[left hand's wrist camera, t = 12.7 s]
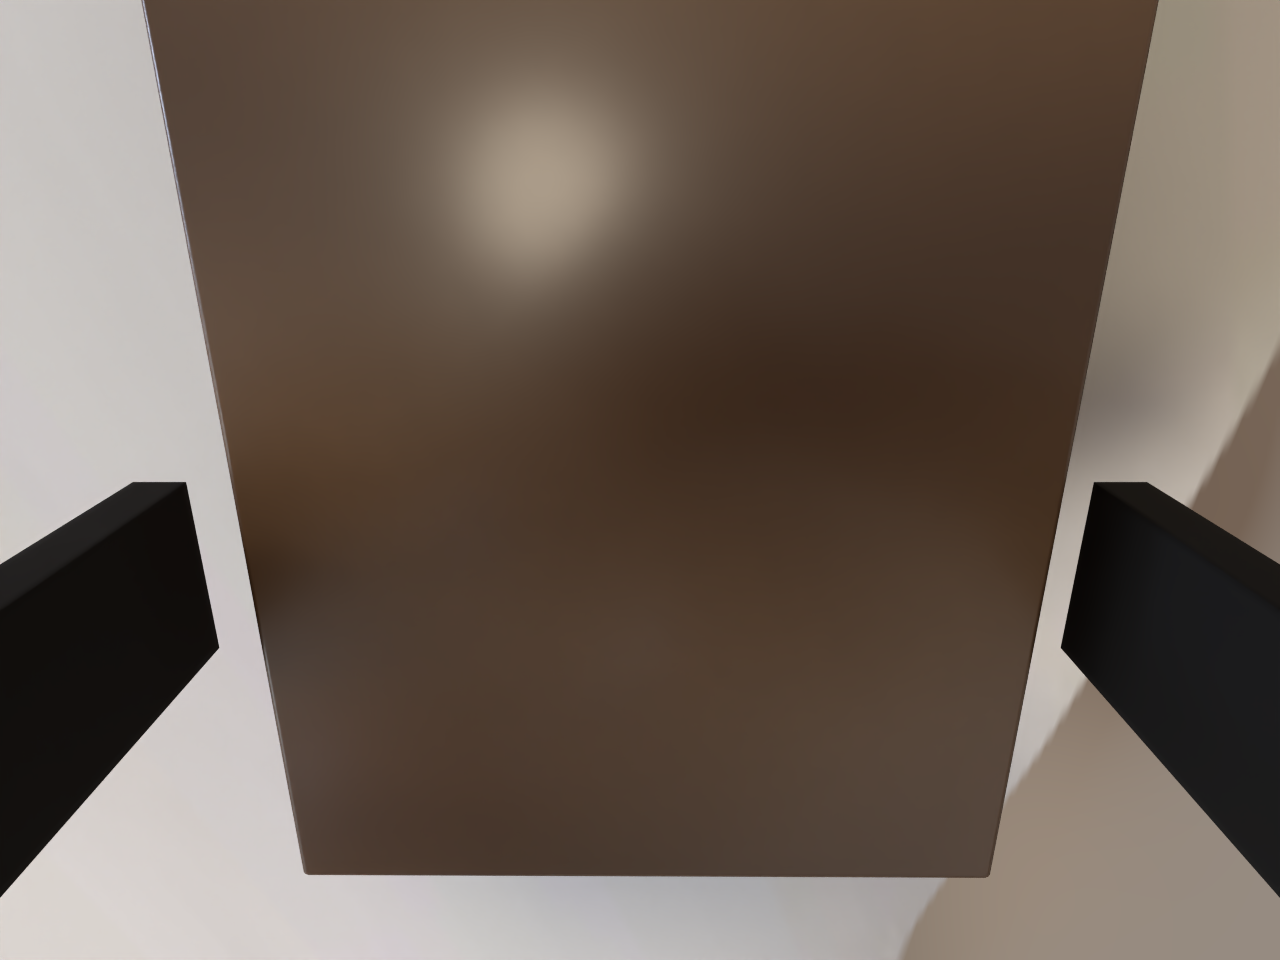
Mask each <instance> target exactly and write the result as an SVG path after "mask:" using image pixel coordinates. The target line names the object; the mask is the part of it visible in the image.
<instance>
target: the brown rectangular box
mask: <svg viewBox="0 0 1280 960" xmlns="http://www.w3.org/2000/svg"><path fill="white" fill-rule="evenodd" d="M142 6H143V11H144V16H145V22H146V27H147V33H148V38H149V43H150V49H151V54H152V59H153V65H154V70H155V76H156V81H157V86H158V92H159V97H160V102H161V108H162V113H163V118H164V124H165V129H166V135H167V140H168V145H169V151H170V156H171V161H172V167H173V172H174V177H175V183H176V188H177V194H178V199H179V204H180V210H181V215H182V220H183V226H184V231H185V237H186V242H187V247H188V253H189V258H190V263H191V269H192V274H193V279H194V285H195V290H196V296H197V301H198V306H199V312H200V317H201V322H202V328H203V333H204V338H205V344H206V349H207V355H208V360H209V365H210V371H211V376H212V381H213V387H214V392H215V397H216V403H217V408H218V414H219V419H220V424H221V430H222V435H223V440H224V446H225V451H226V457H227V462H228V467H229V473H230V478H231V483H232V489H233V494H234V499H235V505H236V510H237V516H238V521H239V526H240V532H241V537H242V542H243V548H244V553H245V558H246V564H247V569H248V575H249V580H250V585H251V591H252V596H253V601H254V607H255V612H256V617H257V623H258V628H259V634H260V639H261V644H262V650H263V655H264V660H265V666H266V671H267V677H268V682H269V687H270V693H271V698H272V703H273V709H274V714H275V719H276V725H277V730H278V736H279V741H280V746H281V752H282V757H283V762H284V768H285V773H286V778H287V784H288V789H289V795H290V800H291V805H292V811H293V816H294V821H295V827H296V832H297V837H298V843H299V848H300V854H301V859H302V864H303V870H304V873H305V874H308V875H468V876H707V877H947V878H986V877H988V876H989V875H990V870H991V865H992V860H993V855H994V850H995V844H996V839H997V834H998V829H999V824H1000V818H1001V813H1002V808H1003V803H1004V798H1005V793H1006V787H1007V782H1008V777H1009V772H1010V767H1011V762H1012V756H1013V751H1014V746H1015V741H1016V736H1017V731H1018V725H1019V720H1020V715H1021V710H1022V705H1023V699H1024V694H1025V689H1026V684H1027V679H1028V674H1029V668H1030V663H1031V658H1032V653H1033V648H1034V643H1035V637H1036V632H1037V627H1038V622H1039V617H1040V611H1041V606H1042V601H1043V596H1044V591H1045V586H1046V580H1047V575H1048V570H1049V565H1050V560H1051V554H1052V549H1053V544H1054V539H1055V534H1056V529H1057V523H1058V518H1059V513H1060V508H1061V503H1062V498H1063V492H1064V487H1065V482H1066V477H1067V472H1068V466H1069V461H1070V456H1071V451H1072V446H1073V441H1074V435H1075V430H1076V425H1077V420H1078V415H1079V409H1080V404H1081V399H1082V394H1083V389H1084V384H1085V378H1086V373H1087V368H1088V363H1089V358H1090V353H1091V347H1092V342H1093V337H1094V332H1095V327H1096V321H1097V316H1098V311H1099V306H1100V301H1101V296H1102V290H1103V285H1104V280H1105V275H1106V270H1107V265H1108V259H1109V254H1110V249H1111V244H1112V239H1113V233H1114V228H1115V223H1116V218H1117V213H1118V208H1119V202H1120V197H1121V192H1122V187H1123V182H1124V176H1125V171H1126V166H1127V161H1128V156H1129V151H1130V145H1131V140H1132V135H1133V130H1134V125H1135V120H1136V114H1137V109H1138V104H1139V99H1140V94H1141V88H1142V83H1143V78H1144V73H1145V68H1146V63H1147V57H1148V52H1149V47H1150V42H1151V37H1152V31H1153V26H1154V21H1155V16H1156V11H1157V6H1158V0H142Z"/></svg>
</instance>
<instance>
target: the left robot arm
mask: <svg viewBox="0 0 1280 960" xmlns="http://www.w3.org/2000/svg"><path fill="white" fill-rule="evenodd" d="M218 649H219V644H218V639H217V634H216V629H215V624H214V619H213V614H212V609H211V604H210V599H209V594H208V589H207V584H206V579H205V574H204V569H203V564H202V559H201V554H200V549H199V544H198V539H197V535H196V530H195V525H194V520H193V515H192V510H191V505H190V500H189V495H188V490H187V485H186V482H133V483H131V484H129V485H128V486H126V487H124V488H123V489H121V490H120V491H118V492H116V493H115V494H113V495H112V496H110V497H108V498H107V499H105V500H103V501H102V502H100V503H99V504H97V505H95V506H94V507H92V508H91V509H89V510H87V511H86V512H84V513H82V514H81V515H79V516H78V517H76V518H74V519H73V520H71V521H70V522H68V523H66V524H65V525H63V526H62V527H60V528H58V529H57V530H55V531H53V532H52V533H50V534H49V535H47V536H45V537H44V538H42V539H41V540H39V541H37V542H36V543H34V544H32V545H31V546H29V547H28V548H26V549H24V550H23V551H21V552H20V553H18V554H16V555H15V556H13V557H12V558H10V559H8V560H7V561H5V562H3V563H2V564H0V897H1V896H2V895H3V894H4V893H5V892H6V890H7V889H8V888H9V887H10V886H11V885H12V884H13V882H14V881H15V880H16V879H17V878H18V877H19V876H20V874H21V873H22V872H23V871H24V870H25V869H26V868H27V866H28V865H29V864H30V863H31V862H32V861H33V860H34V858H35V857H36V856H37V855H38V854H39V853H40V852H41V850H42V849H43V848H44V847H45V846H46V845H47V844H48V842H49V841H50V840H51V839H52V838H53V837H54V836H55V834H56V833H57V832H58V831H59V830H60V829H61V828H62V827H63V825H64V824H65V823H66V822H67V821H68V820H69V819H70V817H71V816H72V815H73V814H74V813H75V812H76V811H77V809H78V808H79V807H80V806H81V805H82V804H83V803H84V801H85V800H86V799H87V798H88V797H89V796H90V795H91V793H92V792H93V791H94V790H95V789H96V788H97V787H98V785H99V784H100V783H101V782H102V781H103V780H104V779H105V777H106V776H107V775H108V774H109V773H110V772H111V771H112V769H113V768H114V767H115V766H116V765H117V764H118V763H119V762H120V760H121V759H122V758H123V757H124V756H125V755H126V754H127V752H128V751H129V750H130V749H131V748H132V747H133V746H134V744H135V743H136V742H137V741H138V740H139V739H140V738H141V736H142V735H143V734H144V733H145V732H146V731H147V730H148V728H149V727H150V726H151V725H152V724H153V723H154V722H155V720H156V719H157V718H158V717H159V716H160V715H161V714H162V712H163V711H164V710H165V709H166V708H167V707H168V706H169V704H170V703H171V702H172V701H173V700H174V699H175V698H176V696H177V695H178V694H179V693H180V692H181V691H182V690H183V689H184V687H185V686H186V685H187V684H188V683H189V682H190V681H191V679H192V678H193V677H194V676H195V675H196V674H197V673H198V671H199V670H200V669H201V668H202V667H203V666H204V665H205V663H206V662H207V661H208V660H209V659H210V658H211V657H212V655H213V654H214V653H215V652H216V651H217V650H218ZM1061 649H1062V650H1063V651H1064V652H1065V653H1066V654H1067V655H1068V657H1069V658H1070V659H1071V660H1072V661H1073V662H1074V663H1075V665H1076V666H1077V667H1078V668H1079V669H1080V670H1081V671H1082V673H1083V674H1084V675H1085V676H1086V677H1087V678H1088V679H1089V681H1090V682H1091V683H1092V684H1093V685H1094V686H1095V687H1096V688H1097V690H1098V691H1099V692H1100V693H1101V694H1102V695H1103V696H1104V698H1105V699H1106V700H1107V701H1108V702H1109V703H1110V704H1111V706H1112V707H1113V708H1114V709H1115V710H1116V711H1117V712H1118V714H1119V715H1120V716H1121V717H1122V718H1123V719H1124V720H1125V722H1126V723H1127V724H1128V725H1129V726H1130V727H1131V728H1132V730H1133V731H1134V732H1135V733H1136V734H1137V735H1138V736H1139V738H1140V739H1141V740H1142V741H1143V742H1144V743H1145V744H1146V746H1147V747H1148V748H1149V749H1150V750H1151V751H1152V752H1153V753H1154V755H1155V756H1156V757H1157V758H1158V759H1159V760H1160V761H1161V763H1162V764H1163V765H1164V766H1165V767H1166V768H1167V769H1168V771H1169V772H1170V773H1171V774H1172V775H1173V776H1174V777H1175V779H1176V780H1177V781H1178V782H1179V783H1180V784H1181V785H1182V787H1183V788H1184V789H1185V790H1186V791H1187V792H1188V793H1189V795H1190V796H1191V797H1192V798H1193V799H1194V800H1195V801H1196V803H1197V804H1198V805H1199V806H1200V807H1201V808H1202V809H1203V811H1204V812H1205V813H1206V814H1207V815H1208V816H1209V817H1210V819H1211V820H1212V821H1213V822H1214V823H1215V824H1216V825H1217V827H1218V828H1219V829H1220V830H1221V831H1222V832H1223V833H1224V834H1225V836H1226V837H1227V838H1228V839H1229V840H1230V841H1231V842H1232V844H1233V845H1234V846H1235V847H1236V848H1237V849H1238V850H1239V852H1240V853H1241V854H1242V855H1243V856H1244V857H1245V858H1246V860H1247V861H1248V862H1249V863H1250V864H1251V865H1252V866H1253V868H1254V869H1255V870H1256V871H1257V872H1258V873H1259V874H1260V876H1261V877H1262V878H1263V879H1264V880H1265V881H1266V882H1267V884H1268V885H1269V886H1270V887H1271V888H1272V889H1273V890H1274V891H1275V893H1276V894H1277V895H1278V896H1279V897H1280V564H1278V563H1277V562H1275V561H1273V560H1272V559H1270V558H1268V557H1267V556H1265V555H1264V554H1262V553H1260V552H1259V551H1257V550H1256V549H1254V548H1252V547H1251V546H1249V545H1247V544H1246V543H1244V542H1243V541H1241V540H1239V539H1238V538H1236V537H1235V536H1233V535H1231V534H1230V533H1228V532H1227V531H1225V530H1223V529H1222V528H1220V527H1218V526H1217V525H1215V524H1214V523H1212V522H1210V521H1209V520H1207V519H1206V518H1204V517H1202V516H1201V515H1199V514H1198V513H1196V512H1194V511H1193V510H1191V509H1189V508H1188V507H1186V506H1185V505H1183V504H1181V503H1180V502H1178V501H1177V500H1175V499H1173V498H1172V497H1170V496H1168V495H1167V494H1165V493H1164V492H1162V491H1160V490H1159V489H1157V488H1156V487H1154V486H1152V485H1151V484H1149V483H1147V482H1094V485H1093V490H1092V495H1091V500H1090V505H1089V510H1088V515H1087V520H1086V525H1085V530H1084V535H1083V539H1082V544H1081V549H1080V554H1079V559H1078V564H1077V569H1076V574H1075V579H1074V584H1073V589H1072V594H1071V599H1070V604H1069V609H1068V614H1067V619H1066V624H1065V629H1064V634H1063V639H1062V644H1061Z"/></svg>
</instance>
